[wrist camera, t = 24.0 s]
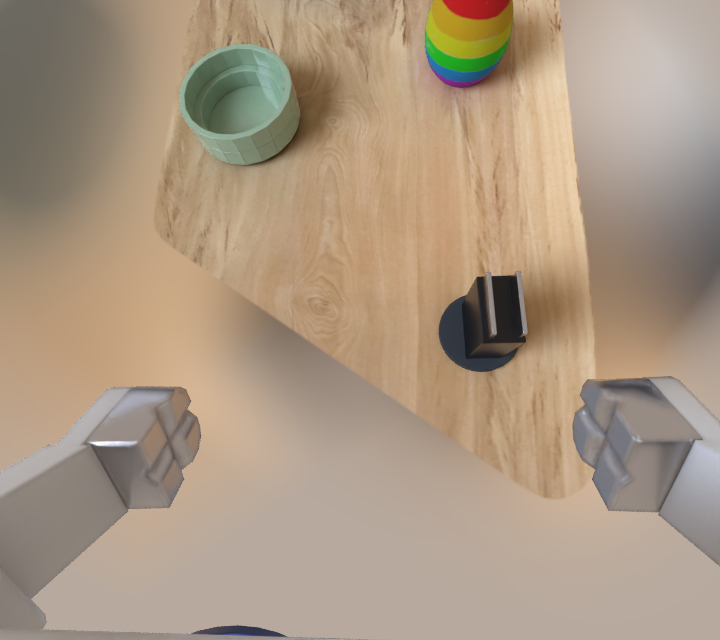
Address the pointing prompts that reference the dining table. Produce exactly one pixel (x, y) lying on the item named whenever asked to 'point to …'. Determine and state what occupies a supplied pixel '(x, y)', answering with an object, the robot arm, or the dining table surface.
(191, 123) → the green bowl
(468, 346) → the clip
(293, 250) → the dining table surface
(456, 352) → the coaster
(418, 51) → the dining table surface
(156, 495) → the robot arm
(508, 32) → the decorative egg
